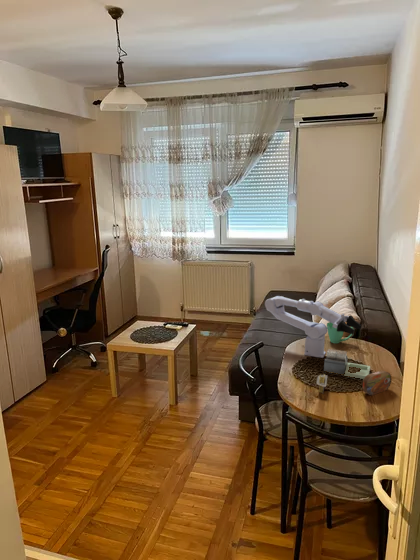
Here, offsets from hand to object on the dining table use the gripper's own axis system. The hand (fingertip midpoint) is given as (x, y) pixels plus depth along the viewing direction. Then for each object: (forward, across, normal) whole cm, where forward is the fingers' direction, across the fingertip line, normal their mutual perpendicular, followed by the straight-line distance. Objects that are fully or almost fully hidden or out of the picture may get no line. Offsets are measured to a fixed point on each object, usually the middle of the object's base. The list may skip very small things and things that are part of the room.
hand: (357, 329), depth 192 cm
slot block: (+1, -12, +18) cm, 21 cm away
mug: (-13, +23, +24) cm, 35 cm away
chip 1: (-3, -12, +14) cm, 18 cm away
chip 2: (+1, -11, +13) cm, 17 cm away
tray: (+10, -8, +16) cm, 20 cm away
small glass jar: (+5, -34, +16) cm, 38 cm away
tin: (+22, -20, +12) cm, 32 cm away
